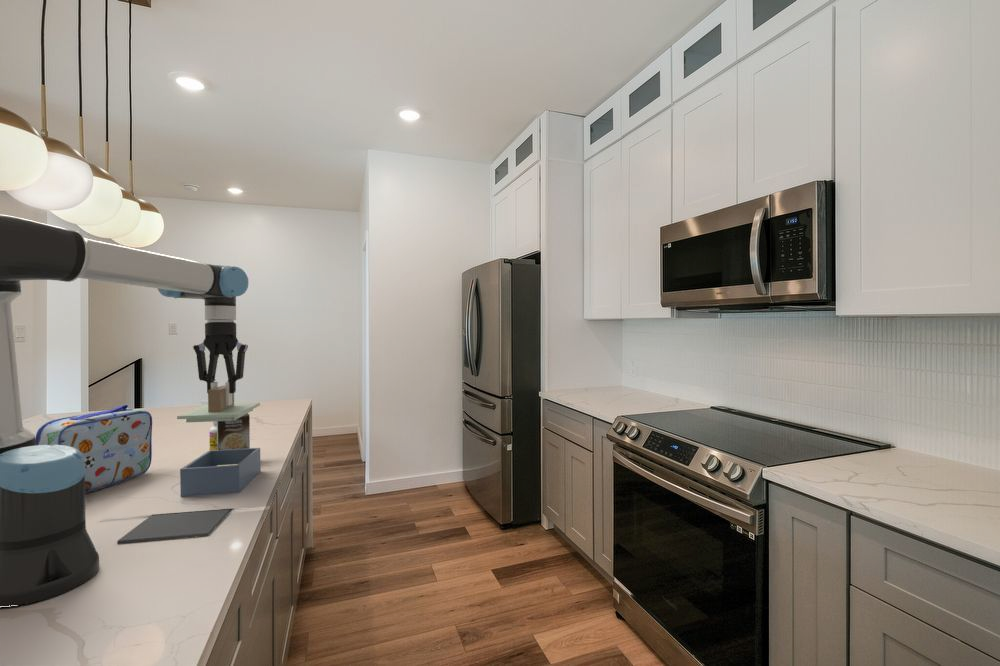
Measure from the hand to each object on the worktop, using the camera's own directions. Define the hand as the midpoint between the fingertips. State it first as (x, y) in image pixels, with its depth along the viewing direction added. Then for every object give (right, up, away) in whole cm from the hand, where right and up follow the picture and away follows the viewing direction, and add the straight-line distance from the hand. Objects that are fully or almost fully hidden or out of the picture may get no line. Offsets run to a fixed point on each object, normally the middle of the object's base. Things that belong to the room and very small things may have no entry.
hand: (221, 405), depth 129 cm
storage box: (0, -23, +1) cm, 23 cm away
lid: (0, -3, 0) cm, 3 cm away
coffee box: (-8, -23, +20) cm, 32 cm away
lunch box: (-35, -23, +2) cm, 42 cm away
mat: (+5, -23, -21) cm, 32 cm away
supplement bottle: (-19, -23, +31) cm, 42 cm away
